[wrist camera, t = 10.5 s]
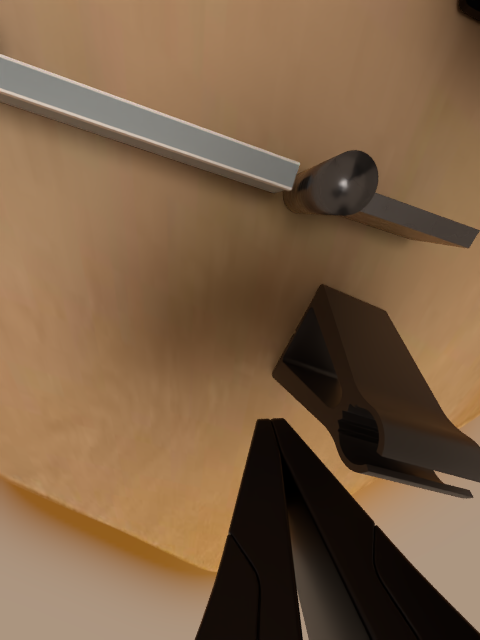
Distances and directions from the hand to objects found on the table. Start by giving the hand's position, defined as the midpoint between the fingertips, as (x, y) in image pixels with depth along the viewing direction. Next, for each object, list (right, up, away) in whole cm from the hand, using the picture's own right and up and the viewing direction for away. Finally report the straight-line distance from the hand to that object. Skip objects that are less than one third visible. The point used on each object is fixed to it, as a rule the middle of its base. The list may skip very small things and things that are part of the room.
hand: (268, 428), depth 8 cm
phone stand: (+6, +1, +14) cm, 15 cm away
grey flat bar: (-7, +14, +7) cm, 17 cm away
